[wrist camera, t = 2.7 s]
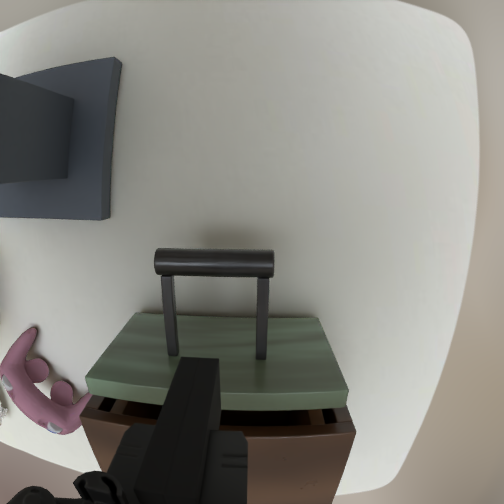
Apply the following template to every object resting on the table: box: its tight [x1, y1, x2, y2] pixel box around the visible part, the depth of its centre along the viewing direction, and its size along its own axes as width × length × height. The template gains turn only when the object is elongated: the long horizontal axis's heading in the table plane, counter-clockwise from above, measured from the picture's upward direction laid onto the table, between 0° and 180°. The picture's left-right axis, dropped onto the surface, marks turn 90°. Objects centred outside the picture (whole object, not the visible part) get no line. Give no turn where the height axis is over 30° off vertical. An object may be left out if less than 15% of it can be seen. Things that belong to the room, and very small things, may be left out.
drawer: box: [85, 248, 349, 426], centre depth 20 cm, size 21×14×9 cm, turn 179°
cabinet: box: [79, 395, 356, 504], centre depth 21 cm, size 16×15×11 cm
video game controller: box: [0, 328, 93, 435], centre depth 23 cm, size 10×5×7 cm, turn 46°
